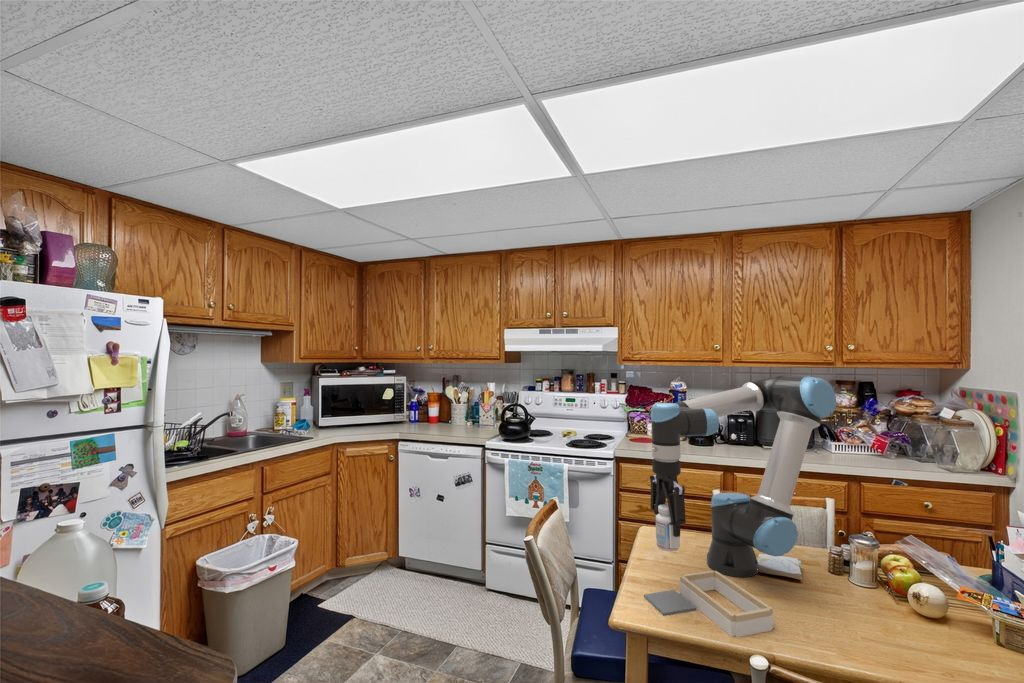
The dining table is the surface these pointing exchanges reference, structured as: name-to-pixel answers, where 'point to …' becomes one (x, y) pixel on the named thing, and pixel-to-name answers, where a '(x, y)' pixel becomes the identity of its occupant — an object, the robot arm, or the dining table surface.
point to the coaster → (669, 602)
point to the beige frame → (739, 624)
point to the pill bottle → (663, 528)
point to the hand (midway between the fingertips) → (667, 542)
